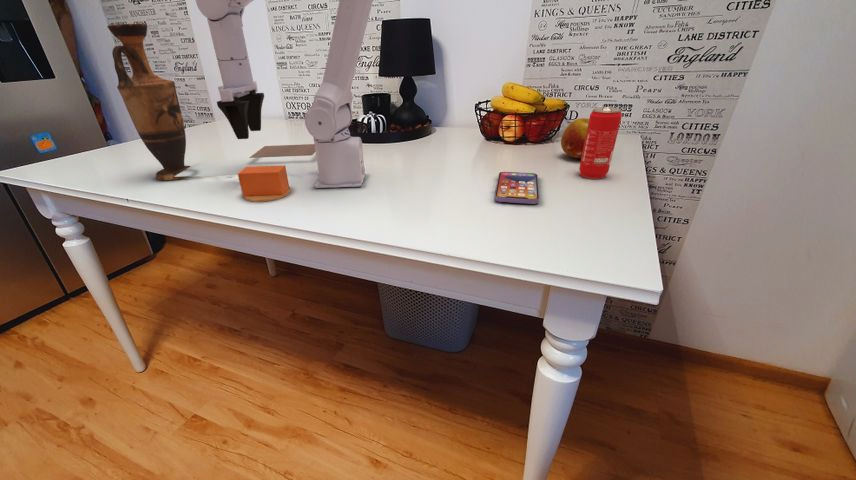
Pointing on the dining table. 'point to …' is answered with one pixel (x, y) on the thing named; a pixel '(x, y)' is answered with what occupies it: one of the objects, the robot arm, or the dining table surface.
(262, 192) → the snack box
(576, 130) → the fruit
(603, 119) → the beverage can
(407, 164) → the dining table surface
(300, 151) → the bread board
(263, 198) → the cork coaster
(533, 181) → the smartphone
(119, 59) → the vase
